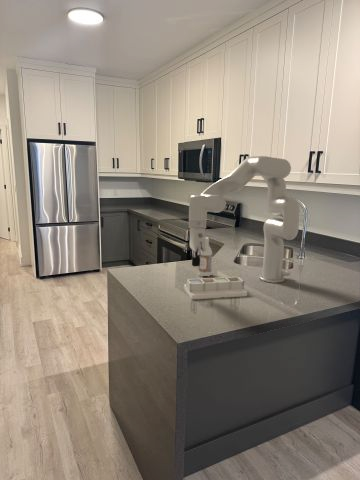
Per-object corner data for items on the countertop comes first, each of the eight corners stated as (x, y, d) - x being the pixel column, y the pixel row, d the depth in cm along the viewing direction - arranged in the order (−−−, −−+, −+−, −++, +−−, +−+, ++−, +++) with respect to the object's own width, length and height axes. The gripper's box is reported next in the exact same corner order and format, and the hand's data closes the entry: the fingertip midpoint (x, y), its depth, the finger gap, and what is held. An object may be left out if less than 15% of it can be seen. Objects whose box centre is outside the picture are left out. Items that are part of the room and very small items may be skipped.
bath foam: (196, 275, 171) (197, 238, 167) (201, 272, 177) (203, 236, 173) (208, 277, 168) (209, 239, 164) (213, 274, 173) (215, 237, 170)
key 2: (224, 282, 150) (224, 279, 149) (227, 285, 145) (227, 282, 145) (215, 283, 149) (215, 279, 148) (218, 286, 145) (218, 282, 144)
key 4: (199, 284, 147) (199, 280, 147) (201, 287, 143) (201, 283, 143) (189, 284, 146) (189, 280, 146) (192, 287, 142) (192, 283, 142)
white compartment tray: (234, 285, 156) (235, 274, 155) (246, 296, 143) (247, 283, 142) (184, 288, 151) (184, 276, 150) (191, 299, 138) (192, 286, 137)
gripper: (211, 226, 133) (209, 270, 136) (201, 221, 147) (199, 261, 151) (193, 227, 131) (191, 271, 135) (184, 221, 146) (183, 261, 149)
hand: (195, 265), depth 143 cm, fingers closed
